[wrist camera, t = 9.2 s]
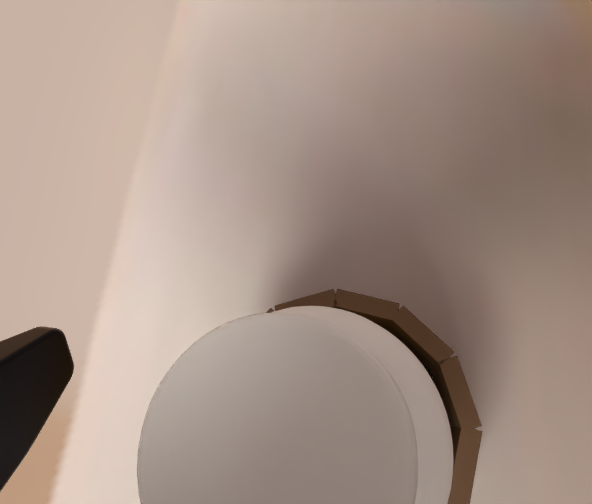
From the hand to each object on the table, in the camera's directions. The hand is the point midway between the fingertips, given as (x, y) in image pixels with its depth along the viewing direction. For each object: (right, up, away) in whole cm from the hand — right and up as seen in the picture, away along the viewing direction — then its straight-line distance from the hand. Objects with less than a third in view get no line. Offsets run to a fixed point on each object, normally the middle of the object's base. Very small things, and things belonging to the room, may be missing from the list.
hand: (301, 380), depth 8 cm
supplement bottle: (+2, -4, +8) cm, 9 cm away
